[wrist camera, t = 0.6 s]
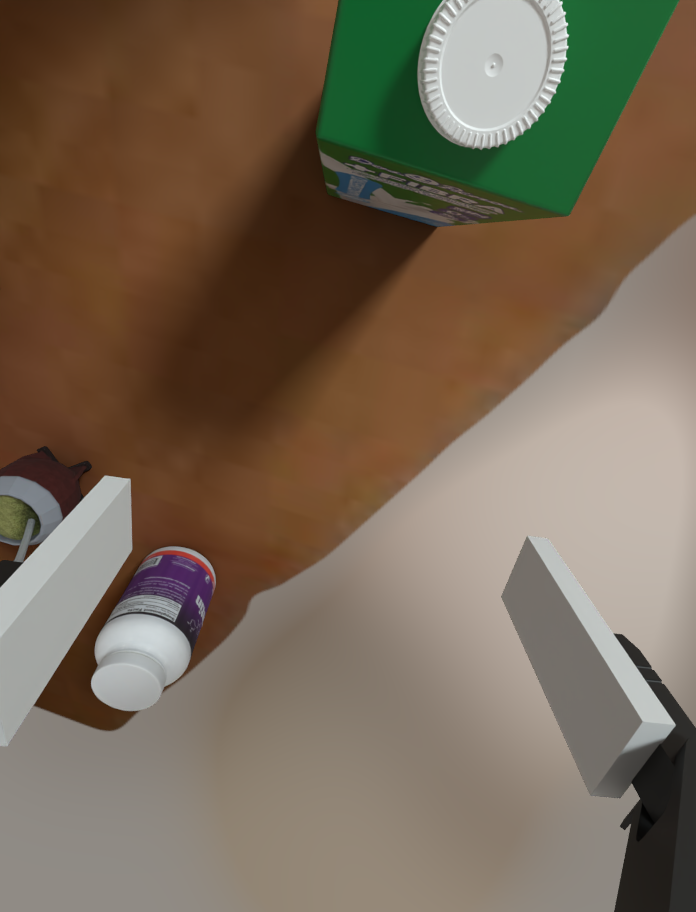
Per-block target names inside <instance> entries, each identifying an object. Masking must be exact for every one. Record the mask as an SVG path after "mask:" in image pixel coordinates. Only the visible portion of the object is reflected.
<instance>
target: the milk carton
mask: <svg viewBox="0 0 696 912" xmlns="http://www.w3.org/2000/svg"><path fill="white" fill-rule="evenodd" d="M678 2H679V0H339V1H338V7H337V12H336V18H335V24H334V29H333V35H332V41H331V47H330V52H329V58H328V64H327V70H326V75H325V81H324V87H323V93H322V98H321V104H320V110H319V116H318V121H317V127H316V138H317V143H318V148H319V153H320V158H321V164H322V169H323V174H324V179H325V184H326V190H327V194H328V195H331V196H334V197H338V198H341V199H344V200H348V201H351V202H354V203H358V204H361V205H365V206H368V207H371V208H375V209H378V210H381V211H385V212H388V213H391V214H395V215H398V216H402V217H405V218H408V219H412V220H415V221H418V222H422V223H425V224H429V225H432V226H435V227H441V226H454V225H466V224H478V223H490V222H503V221H515V220H527V219H540V218H552V217H564V216H569V215H570V213H571V211H572V210H573V208H574V206H575V204H576V202H577V200H578V198H579V196H580V194H581V192H582V190H583V188H584V186H585V184H586V182H587V180H588V178H589V176H590V174H591V172H592V170H593V168H594V166H595V165H596V163H597V161H598V159H599V157H600V155H601V153H602V151H603V149H604V147H605V145H606V143H607V141H608V139H609V137H610V135H611V133H612V131H613V129H614V127H615V125H616V123H617V122H618V120H619V118H620V116H621V114H622V112H623V110H624V108H625V106H626V104H627V102H628V100H629V98H630V96H631V94H632V92H633V90H634V88H635V86H636V84H637V82H638V80H639V78H640V77H641V75H642V73H643V71H644V69H645V67H646V65H647V63H648V61H649V59H650V57H651V55H652V53H653V51H654V49H655V47H656V45H657V43H658V41H659V39H660V37H661V35H662V34H663V32H664V30H665V28H666V26H667V24H668V22H669V20H670V18H671V16H672V14H673V12H674V10H675V8H676V6H677V4H678Z"/></svg>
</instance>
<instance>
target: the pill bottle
mask: <svg viewBox="0 0 696 912" xmlns="http://www.w3.org/2000/svg"><path fill="white" fill-rule="evenodd" d="M215 584H216V577H215V573H214V570H213V567H212V566H211V564H210V563H209V561H208V560H207V559H206V558H205V557H204V556H202V555H201V554H199V553H198V552H196V551H194V550H191V549H188V548H184V547H177V546H170V547H164V548H160V549H158V550H155V551H154V552H152V553H150V554H149V555H148V556H147V557H146V558H145V559H144V560H143V562H142V563H141V565H140V566H139V568H138V570H137V572H136V573H135V575H134V577H133V578H132V580H131V582H130V583H129V585H128V587H127V588H126V590H125V592H124V594H123V595H122V597H121V599H120V600H119V602H118V604H117V605H116V607H115V608H114V610H113V612H112V613H111V615H110V617H109V618H108V620H107V622H106V623H105V625H104V627H103V628H102V630H101V632H100V633H99V635H98V637H97V640H96V643H95V658H96V661H97V664H98V667H97V669H96V671H95V673H94V675H93V677H92V680H91V687H92V690H93V692H94V694H95V695H96V696H97V697H98V698H99V699H100V700H101V701H102V702H104V703H105V704H107V705H109V706H111V707H113V708H116V709H120V710H126V711H138V710H143V709H146V708H149V707H151V706H152V705H154V704H155V703H156V702H157V701H158V700H159V698H160V696H161V693H162V691H163V689H164V687H165V686H167V685H169V684H171V683H173V682H174V681H176V680H177V679H178V678H179V677H180V676H181V675H182V674H183V673H184V671H185V670H186V668H187V666H188V664H189V661H190V658H191V655H192V652H193V649H194V646H195V643H196V640H197V638H198V635H199V632H200V629H201V626H202V623H203V621H204V617H205V615H206V612H207V609H208V606H209V603H210V600H211V598H212V595H213V592H214V589H215Z"/></svg>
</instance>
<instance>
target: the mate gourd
mask: <svg viewBox="0 0 696 912" xmlns="http://www.w3.org/2000/svg"><path fill="white" fill-rule="evenodd" d="M37 451H38V453H35V454H31V455H27V456H24V457H22V458H20V459H18V460H16V461H14V462H13V463H11V464H9V465H7V466H6V467H4V468H2V469H0V541H1V542H4V543H8V544H11V545H20V547H19V550H18V553H17V555H16V558H15V560H14V561H16V562H23V560H24V557H25V554H26V551H27V548H28V545H35V544H39V543H41V542H43V541H44V540H45V539H46V538H47V537H48V536H49V535H50V534H51V533H52V532H53V531H54V530H55V529H56V528H57V526H58V525H59V524H60V523H61V522H62V521H63V520H64V519H65V518H66V517H67V516H68V515H69V514H70V513H71V512H72V510H73V509H74V508H75V507H76V506H77V505H78V504H79V503H80V502H81V501H82V500H83V499H84V497H83V495H82V494H81V491H80V486H79V480H78V479H79V478H80V476H81V475H82V473H83V472H85V471H87V470H89V469H91V468H92V466H91V464H90V463H89V462H88V461H85V462H82V463H79V464H77V465H74V466H71V467H68V468H67V467H66V466H64V465H63V464H61V463H59V462H58V461H57V460H56V458H55V457H54V455H53V454H52V453H51V451H50V450H49V449H48V448H47V447H46V446H44V447H42V448H40V449H38V450H37Z"/></svg>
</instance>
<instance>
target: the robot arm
mask: <svg viewBox="0 0 696 912" xmlns="http://www.w3.org/2000/svg"><path fill="white" fill-rule="evenodd" d="M131 551H132V519H131V480H130V479H126V478H119V477H112V476H104V477H103V478H102V479H101V481H100V482H99V483H98V484H97V485H96V486H95V487H94V488H93V489H92V490H91V491H90V492H89V493H88V494H87V495H86V497H85V498H84V499H83V500H82V501H81V502H80V503H79V504H78V505H77V506H76V507H75V508H74V509H73V510H72V512H71V513H70V514H69V515H68V516H67V517H66V518H65V519H64V520H63V521H62V522H61V523H60V524H59V525H58V526H57V528H56V529H55V530H54V531H53V532H52V533H51V534H50V535H49V536H48V537H47V538H46V539H45V540H44V541H43V543H42V544H41V545H40V546H39V547H38V548H37V549H36V550H35V551H34V552H33V553H32V554H31V555H30V556H29V557H28V559H27V560H26V561H25V562H16V561H8V560H3V561H1V562H0V746H8V744H9V743H10V741H11V740H12V738H13V737H14V735H15V733H16V732H17V730H18V729H19V727H20V726H21V724H22V722H23V721H24V719H25V718H26V716H27V714H28V713H29V711H30V710H31V708H32V707H33V705H34V703H35V702H36V700H37V699H38V697H39V696H40V694H41V692H42V691H43V689H44V688H45V686H46V685H47V683H48V681H49V680H50V678H51V677H52V675H53V674H54V672H55V670H56V669H57V667H58V666H59V664H60V663H61V661H62V659H63V658H64V656H65V655H66V653H67V652H68V650H69V648H70V647H71V645H72V644H73V642H74V641H75V639H76V637H77V636H78V634H79V633H80V631H81V629H82V628H83V626H84V625H85V623H86V622H87V620H88V618H89V617H90V615H91V614H92V612H93V611H94V609H95V607H96V606H97V604H98V603H99V601H100V600H101V598H102V596H103V595H104V593H105V592H106V590H107V589H108V587H109V585H110V584H111V582H112V581H113V579H114V578H115V576H116V574H117V573H118V571H119V570H120V568H121V567H122V565H123V563H124V562H125V560H126V559H127V557H128V555H129V554H130V552H131ZM501 597H502V600H503V602H504V604H505V606H506V609H507V611H508V613H509V615H510V618H511V620H512V622H513V624H514V626H515V629H516V631H517V633H518V635H519V638H520V640H521V642H522V644H523V647H524V649H525V651H526V653H527V655H528V657H529V660H530V662H531V664H532V667H533V669H534V671H535V673H536V675H537V677H538V680H539V682H540V684H541V686H542V689H543V691H544V693H545V696H546V698H547V700H548V702H549V704H550V707H551V709H552V711H553V713H554V716H555V718H556V720H557V722H558V725H559V727H560V729H561V731H562V733H563V736H564V738H565V740H566V742H567V745H568V747H569V749H570V751H571V753H572V756H573V758H574V760H575V762H576V764H577V767H578V769H579V771H580V774H581V776H582V778H583V780H584V783H585V785H586V787H587V789H588V791H589V794H590V795H591V796H600V797H611V798H621V797H622V795H623V794H624V792H625V791H626V790H627V789H628V787H629V786H630V784H631V783H632V784H633V786H634V788H635V790H636V791H637V793H638V795H639V797H640V800H639V801H638V802H637V804H636V805H635V806H634V808H633V809H632V810H631V812H630V813H629V814H628V815H627V816H626V818H625V819H624V820H623V822H622V824H621V825H620V827H621V828H623V829H624V830H625V829H626V828H627V827H628V826H629V824H631V828H630V833H629V838H628V843H627V848H626V853H625V859H624V864H623V869H622V874H621V879H620V885H619V890H618V895H617V900H616V905H615V910H614V912H696V728H695V726H694V725H693V724H692V722H691V721H690V720H689V718H688V717H687V715H686V714H685V713H684V711H683V710H682V708H681V707H680V706H679V704H678V703H677V701H676V700H675V699H674V697H673V696H672V694H671V693H670V692H669V690H668V689H667V688H666V686H665V685H664V684H662V683H661V681H662V680H661V679H660V678H659V676H658V675H657V674H656V672H655V671H654V670H652V669H651V665H650V664H649V663H648V661H647V660H646V658H645V657H644V656H643V654H642V653H641V651H640V650H639V649H638V648H637V647H635V645H633V644H632V643H631V642H630V641H629V640H628V639H627V638H626V637H625V636H623V635H622V634H614V633H613V632H612V631H611V629H610V628H609V627H608V625H607V624H606V622H605V621H604V619H603V618H602V616H601V615H600V613H599V612H598V610H597V609H596V608H595V606H594V605H593V603H592V602H591V600H590V599H589V597H588V596H587V595H586V593H585V592H584V590H583V589H582V587H581V586H580V584H579V583H578V581H577V580H576V578H575V577H574V575H573V574H572V573H571V571H570V570H569V568H568V567H567V565H566V564H565V562H564V561H563V559H562V558H561V557H560V555H559V554H558V552H557V551H556V549H555V548H554V546H553V545H552V543H551V542H550V540H549V539H546V538H540V537H532V536H527V537H526V540H525V542H524V545H523V547H522V549H521V551H520V554H519V556H518V558H517V561H516V563H515V565H514V568H513V570H512V573H511V575H510V577H509V580H508V582H507V584H506V587H505V589H504V591H503V594H502V596H501Z"/></svg>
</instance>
